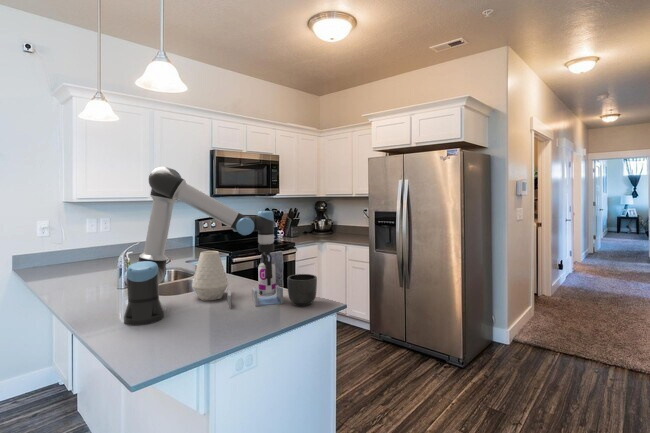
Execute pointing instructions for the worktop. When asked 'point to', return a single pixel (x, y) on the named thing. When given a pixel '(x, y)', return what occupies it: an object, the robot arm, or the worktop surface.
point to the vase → (210, 277)
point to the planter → (302, 289)
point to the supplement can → (263, 281)
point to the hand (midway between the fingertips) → (267, 289)
